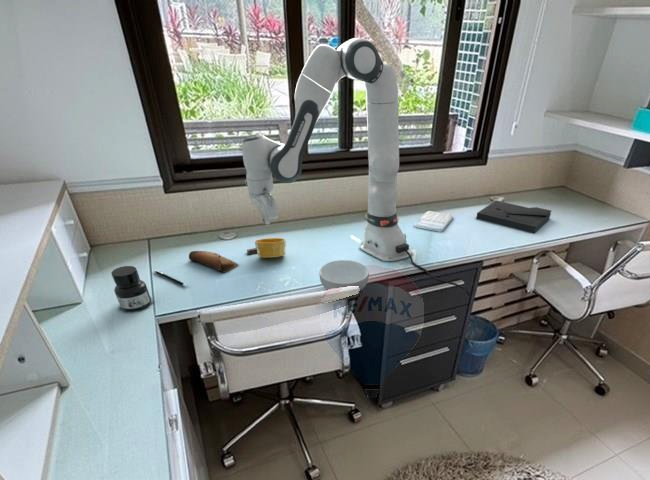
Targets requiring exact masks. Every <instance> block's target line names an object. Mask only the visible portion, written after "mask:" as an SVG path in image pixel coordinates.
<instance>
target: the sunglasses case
mask: <svg viewBox="0 0 650 480" xmlns="http://www.w3.org/2000/svg"><path fill="white" fill-rule="evenodd" d="M188 259H189V260H190V261H192V262H197V263H200V264H203V265H205V266H208V267H210V268H212V269H215V270H218V271H221V272H223V273H226V272H229V271H231V270H232V269H234V268H236V267H237V266H238V265H239V264H238V263H237V262H235V261H233V260H231V259H229V258H227V257H224V256H222V255H221V254H219V253H217V252H212V251H205V250H193V251H190V252H189V254H188Z"/></svg>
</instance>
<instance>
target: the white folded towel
mask: <svg viewBox="0 0 650 480" xmlns="http://www.w3.org/2000/svg"><path fill="white" fill-rule="evenodd" d="M453 219H454V216H453V214H449V213H443V212H437V211H431V210H427V211H426V212H425V213H424V214H423V215H421V217H420V218H419V219H418V220H417V221H416V222H415V223H414V227H415V228H416V229H417V228H418V229H423V230H428V231H434V232H438V233H439V232H443V231H444V230H445V229H446V227H447V226H448V225H449V223H451V221H452V220H453Z"/></svg>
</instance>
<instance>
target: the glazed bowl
mask: <svg viewBox="0 0 650 480" xmlns="http://www.w3.org/2000/svg"><path fill="white" fill-rule="evenodd" d="M254 246H255V247H254V248H256V249H257V253H256V254H257V256H258V258H265V259H266V258H280V257H284V256H285V255H286V252H287V251H286V248H287V240H286V238H282V237H280V238H279V237H269V238H268V237H267V238H260V239H257V240H255V241H254Z"/></svg>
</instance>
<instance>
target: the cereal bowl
mask: <svg viewBox="0 0 650 480" xmlns="http://www.w3.org/2000/svg"><path fill="white" fill-rule="evenodd" d="M318 275H319V281H320V283H321V286H323V287H324V289H325V290H327V289H331V288H339V287H347V286H359V288H360V291H362V290H363V289H365V287H366V286H367V284H368V283H369V277H370V270H369V268H368V266H366V265H365V264H363V263H361V262H358V261H355V260H348V259H347V260H345V259H342V260H341V259H340V260H334V261H329V262H327V263H325V264H324V265H322V266H321V268H319V272H318Z"/></svg>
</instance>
